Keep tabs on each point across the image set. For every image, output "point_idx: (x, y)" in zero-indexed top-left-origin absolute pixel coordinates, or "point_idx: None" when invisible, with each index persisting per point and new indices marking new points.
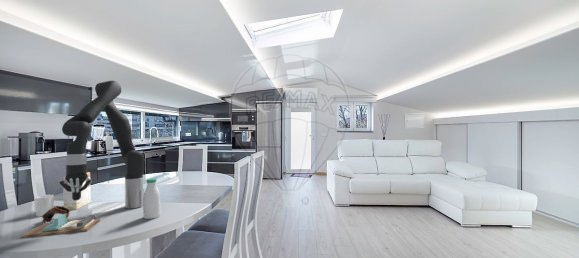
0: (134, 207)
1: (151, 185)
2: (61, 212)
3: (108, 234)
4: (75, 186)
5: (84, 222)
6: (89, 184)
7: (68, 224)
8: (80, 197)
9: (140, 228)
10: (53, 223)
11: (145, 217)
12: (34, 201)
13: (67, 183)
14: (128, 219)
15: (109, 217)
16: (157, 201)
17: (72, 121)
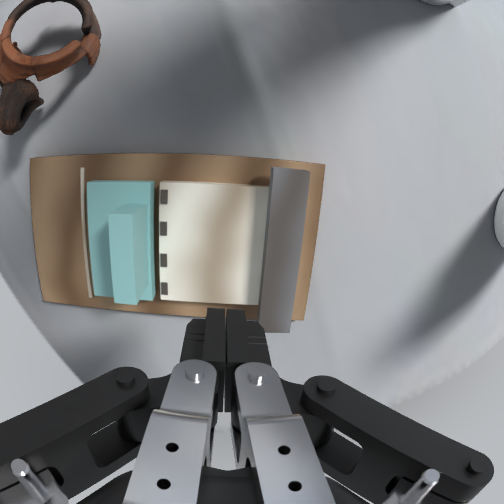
0: (434, 4)
1: None
2: (60, 64)
3: (386, 371)
4: (209, 461)
5: (290, 314)
6: (416, 434)
7: (188, 261)
8: (261, 334)
9: (469, 339)
10: (94, 219)
11: (500, 242)
12: None
13: (39, 454)
14: (448, 205)
15: (354, 109)
16: None
17: None
